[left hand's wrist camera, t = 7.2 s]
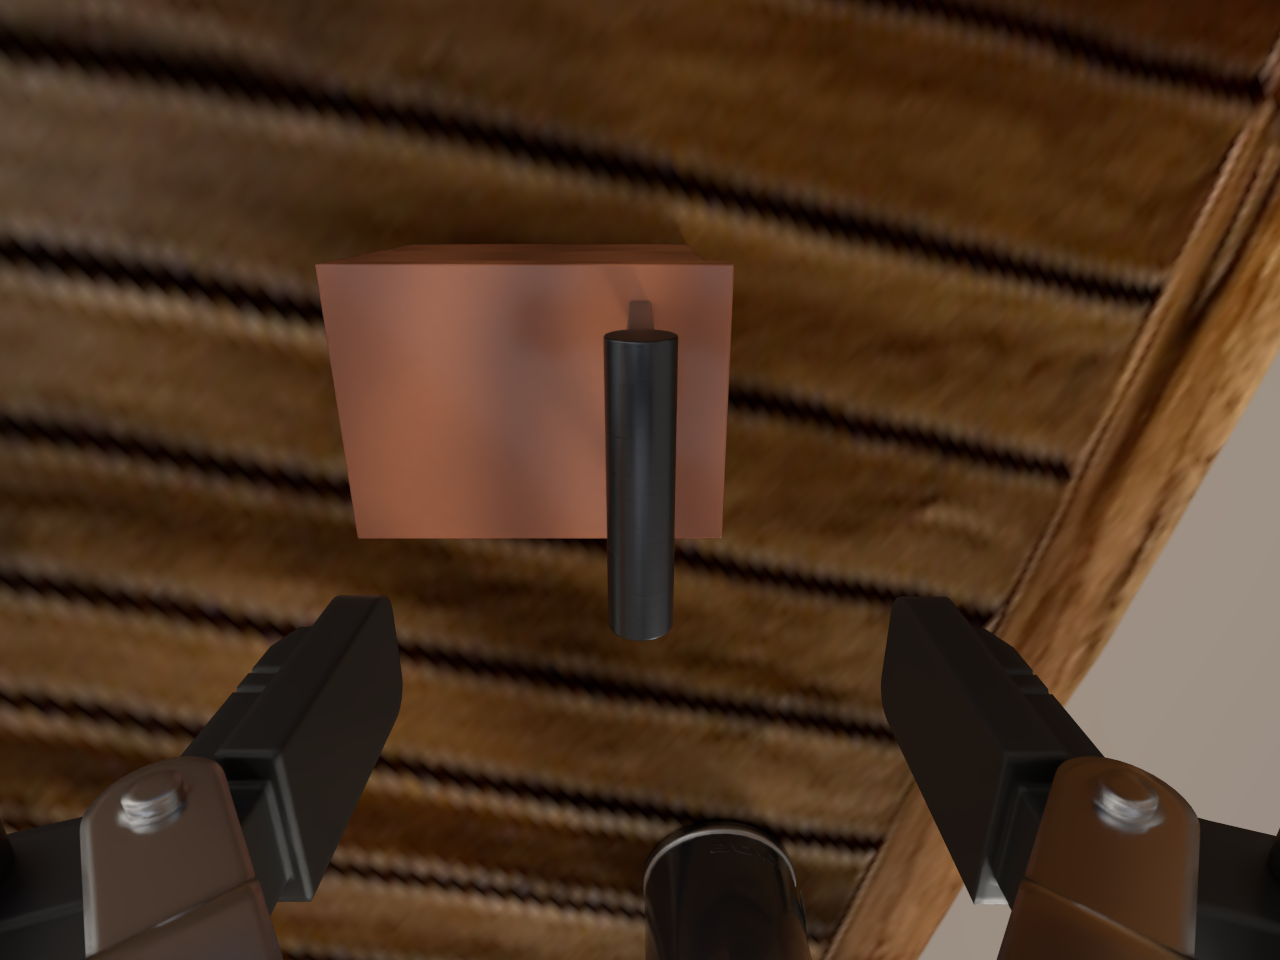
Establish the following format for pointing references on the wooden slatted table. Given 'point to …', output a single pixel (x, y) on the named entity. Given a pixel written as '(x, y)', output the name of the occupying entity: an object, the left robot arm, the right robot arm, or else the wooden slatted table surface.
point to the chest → (533, 252)
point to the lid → (538, 407)
